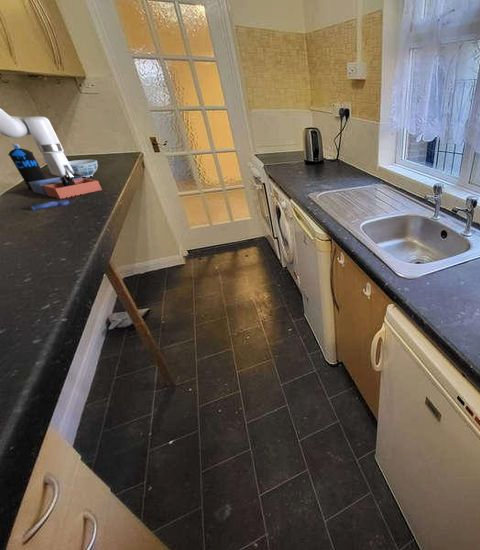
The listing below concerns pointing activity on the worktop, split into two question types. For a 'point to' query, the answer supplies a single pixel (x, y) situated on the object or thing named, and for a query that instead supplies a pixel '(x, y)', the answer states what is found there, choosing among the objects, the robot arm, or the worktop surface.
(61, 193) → the red bin
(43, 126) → the robot arm
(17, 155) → the aerosol can
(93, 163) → the chinaware
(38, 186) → the blue bin
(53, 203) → the blue spoon
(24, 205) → the worktop surface
